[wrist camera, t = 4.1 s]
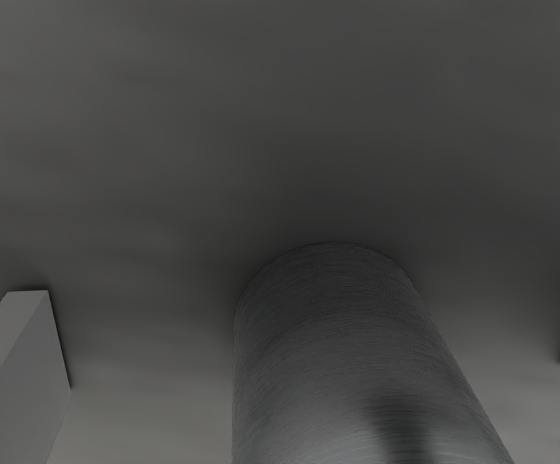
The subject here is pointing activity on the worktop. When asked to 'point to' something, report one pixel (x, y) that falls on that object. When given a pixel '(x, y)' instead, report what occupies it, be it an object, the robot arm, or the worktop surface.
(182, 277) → the worktop surface
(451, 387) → the grey metal knob
